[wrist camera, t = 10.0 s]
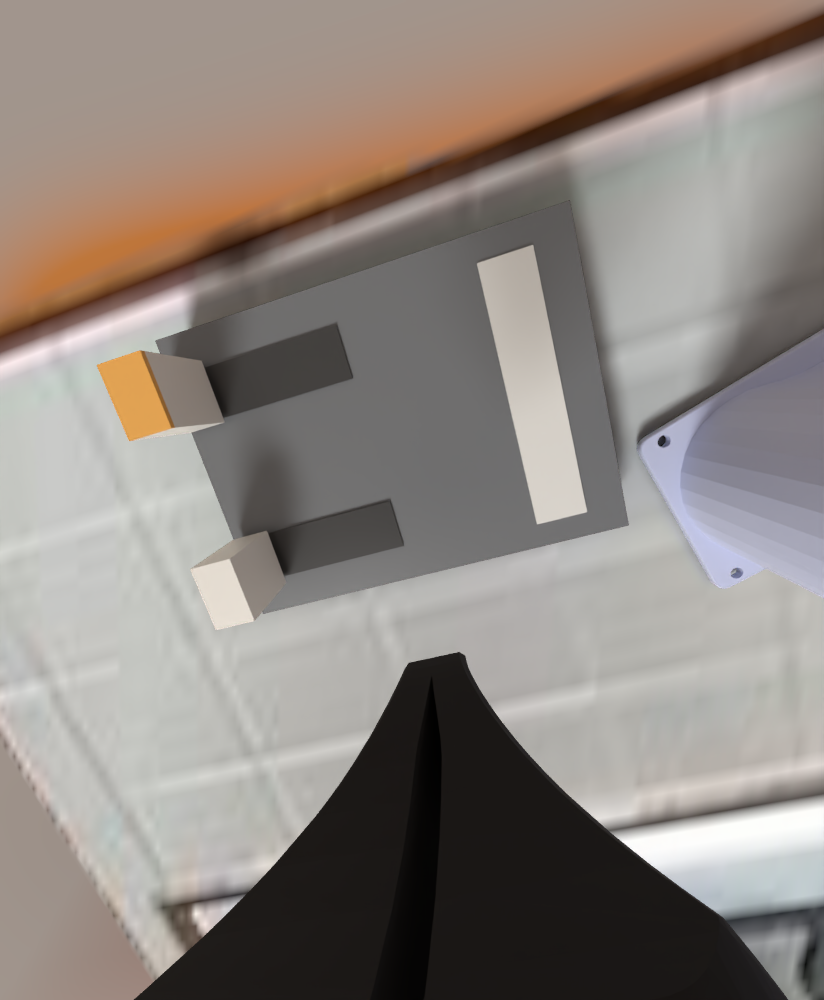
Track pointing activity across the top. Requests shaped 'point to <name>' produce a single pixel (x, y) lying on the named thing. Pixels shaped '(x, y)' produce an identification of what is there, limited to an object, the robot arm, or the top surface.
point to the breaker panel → (414, 412)
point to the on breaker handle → (239, 580)
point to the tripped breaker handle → (160, 394)
